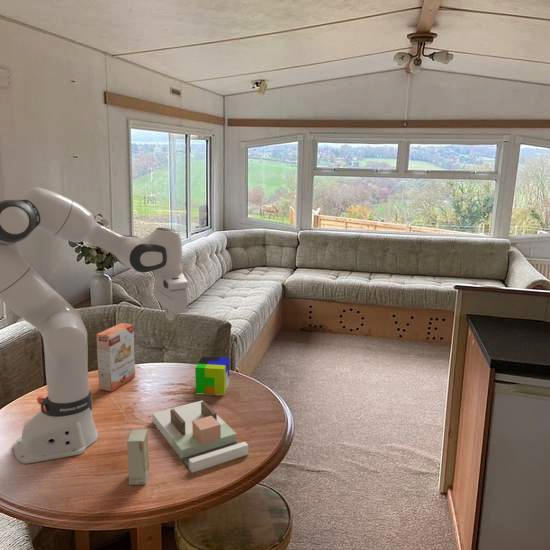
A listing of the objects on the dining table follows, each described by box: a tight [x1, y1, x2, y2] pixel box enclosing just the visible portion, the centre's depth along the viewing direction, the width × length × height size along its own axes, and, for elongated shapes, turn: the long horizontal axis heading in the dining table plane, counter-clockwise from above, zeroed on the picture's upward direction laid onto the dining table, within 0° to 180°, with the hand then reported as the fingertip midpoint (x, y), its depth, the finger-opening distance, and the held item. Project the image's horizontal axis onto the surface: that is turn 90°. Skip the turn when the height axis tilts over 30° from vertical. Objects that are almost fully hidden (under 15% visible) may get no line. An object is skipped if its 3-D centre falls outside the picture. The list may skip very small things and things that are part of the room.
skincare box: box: [126, 429, 150, 486], centre depth 134 cm, size 6×4×12 cm
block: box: [192, 416, 221, 445], centre depth 149 cm, size 6×6×4 cm
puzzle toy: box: [194, 356, 230, 395], centre depth 186 cm, size 10×10×10 cm
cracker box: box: [96, 322, 136, 393], centre depth 188 cm, size 14×6×21 cm, turn 159°
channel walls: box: [170, 400, 218, 435], centre depth 156 cm, size 11×9×4 cm
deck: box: [151, 400, 249, 474], centre depth 155 cm, size 17×31×3 cm, turn 32°
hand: (170, 319), depth 170 cm, fingers closed
